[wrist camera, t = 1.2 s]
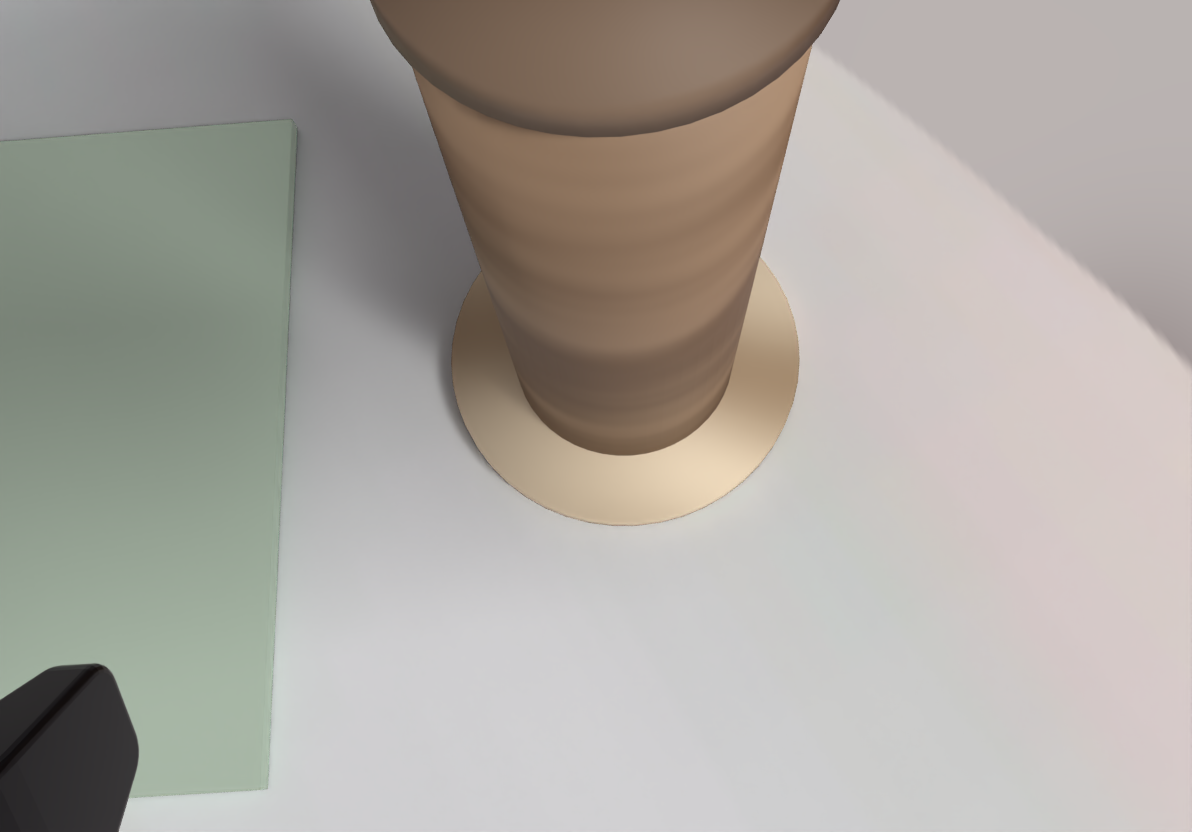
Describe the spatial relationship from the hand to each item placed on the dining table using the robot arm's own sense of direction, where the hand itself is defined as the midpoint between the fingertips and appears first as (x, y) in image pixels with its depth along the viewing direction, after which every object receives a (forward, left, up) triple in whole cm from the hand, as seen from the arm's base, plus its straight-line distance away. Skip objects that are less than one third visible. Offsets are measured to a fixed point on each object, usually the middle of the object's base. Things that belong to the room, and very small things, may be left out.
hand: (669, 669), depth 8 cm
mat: (+7, +15, -13) cm, 21 cm away
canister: (+8, 0, -13) cm, 15 cm away
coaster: (+8, 0, -13) cm, 15 cm away
